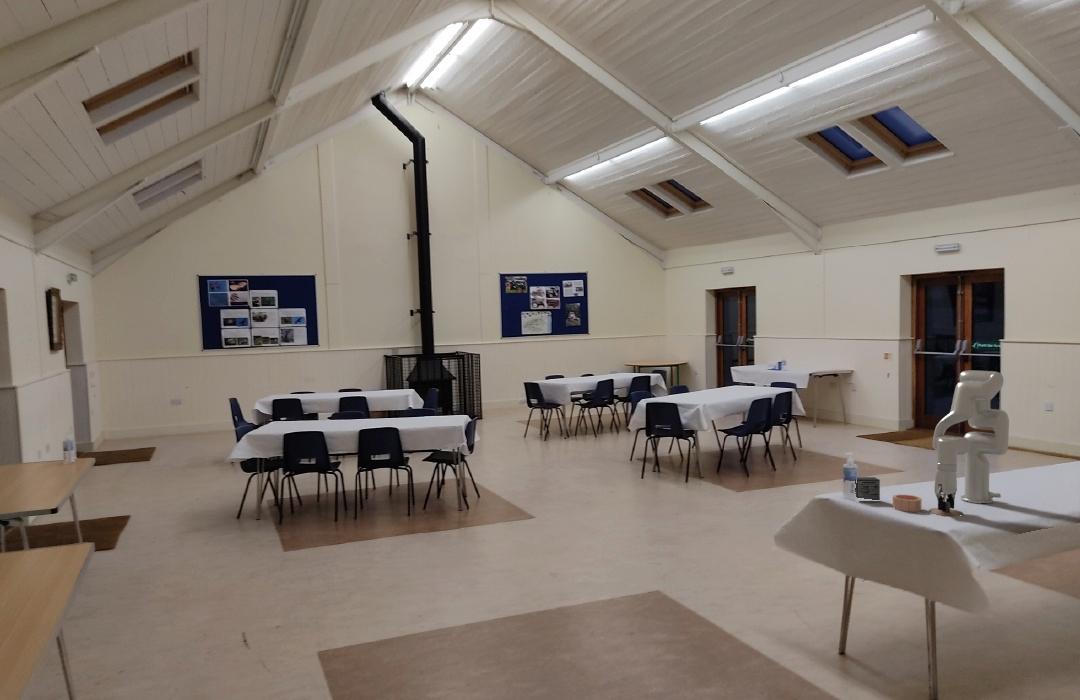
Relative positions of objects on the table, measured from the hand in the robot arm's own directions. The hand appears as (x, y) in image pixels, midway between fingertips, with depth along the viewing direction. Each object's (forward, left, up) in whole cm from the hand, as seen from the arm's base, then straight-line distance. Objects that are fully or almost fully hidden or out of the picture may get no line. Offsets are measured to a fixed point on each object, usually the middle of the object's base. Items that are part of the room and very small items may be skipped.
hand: (946, 508), depth 316 cm
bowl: (+14, -5, -2) cm, 15 cm away
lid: (0, 0, -2) cm, 2 cm away
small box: (+27, -19, -2) cm, 33 cm away
